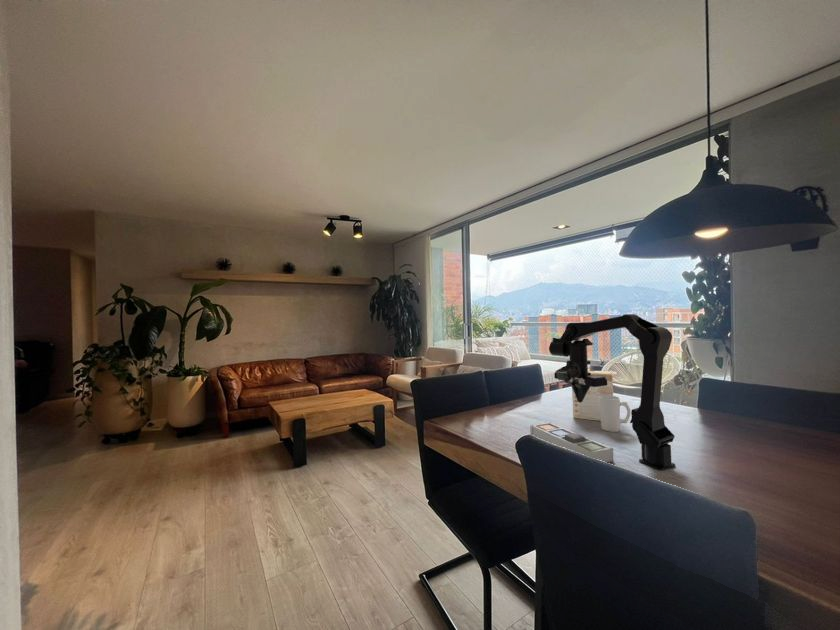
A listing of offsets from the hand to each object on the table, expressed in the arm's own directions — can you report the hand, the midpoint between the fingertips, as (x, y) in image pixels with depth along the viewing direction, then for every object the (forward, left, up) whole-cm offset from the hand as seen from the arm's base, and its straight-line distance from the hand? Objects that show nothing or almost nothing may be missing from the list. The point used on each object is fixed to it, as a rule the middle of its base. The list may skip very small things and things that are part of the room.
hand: (580, 402), depth 121 cm
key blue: (-1, +10, -11) cm, 15 cm away
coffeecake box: (+16, -22, -13) cm, 30 cm away
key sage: (-14, +10, -11) cm, 21 cm away
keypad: (-4, +10, -13) cm, 17 cm away
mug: (+2, -18, -13) cm, 23 cm away
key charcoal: (-7, +10, -10) cm, 16 cm away
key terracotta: (+6, +10, -11) cm, 16 cm away
